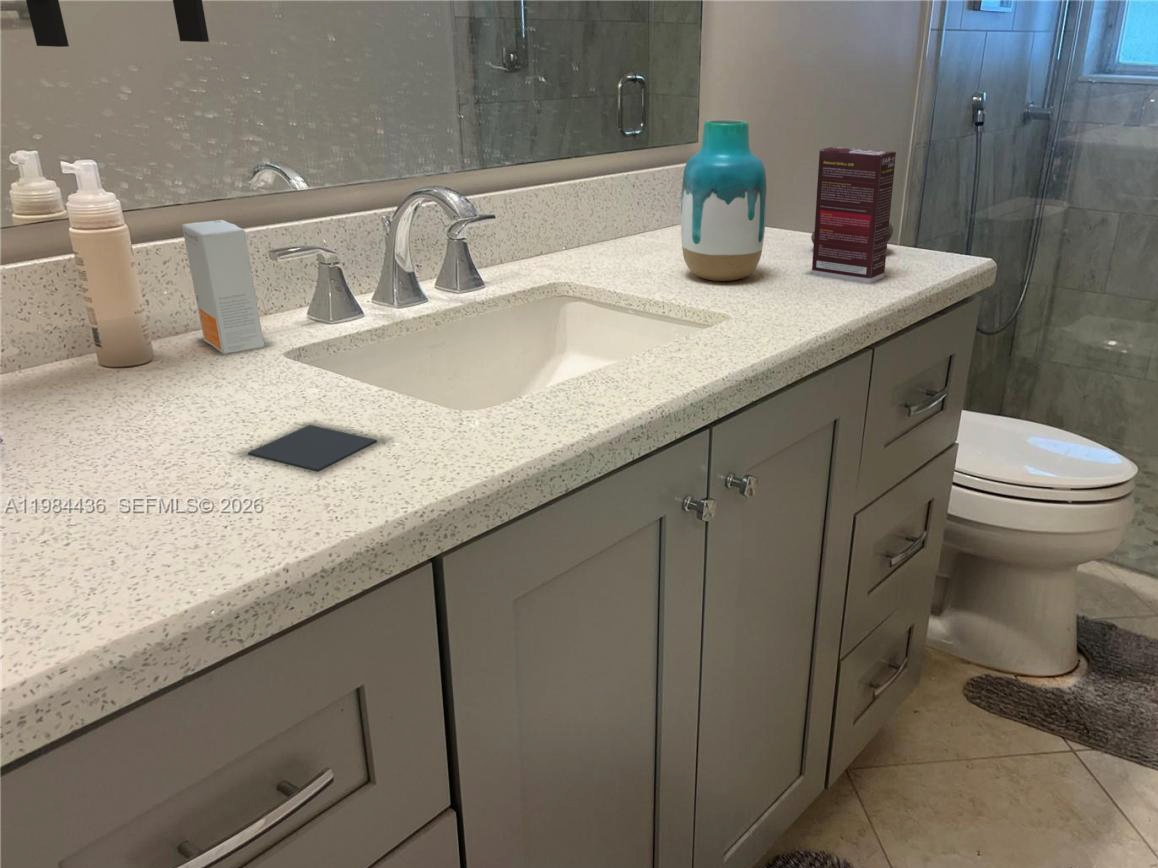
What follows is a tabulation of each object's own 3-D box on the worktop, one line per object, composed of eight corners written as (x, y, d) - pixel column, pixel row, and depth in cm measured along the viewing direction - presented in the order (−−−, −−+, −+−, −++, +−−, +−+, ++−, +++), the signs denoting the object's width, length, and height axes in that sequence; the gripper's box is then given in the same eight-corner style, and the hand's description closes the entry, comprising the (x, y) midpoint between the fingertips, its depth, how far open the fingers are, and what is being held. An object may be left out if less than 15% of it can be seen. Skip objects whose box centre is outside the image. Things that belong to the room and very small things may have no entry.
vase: (778, 283, 132) (788, 123, 123) (709, 293, 127) (714, 127, 118) (731, 266, 140) (737, 115, 131) (664, 275, 135) (665, 119, 126)
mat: (248, 458, 80) (247, 452, 79) (310, 430, 85) (309, 424, 85) (318, 475, 77) (317, 469, 77) (377, 445, 82) (377, 439, 82)
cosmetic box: (202, 343, 106) (179, 223, 101) (244, 335, 108) (224, 218, 103) (223, 357, 102) (200, 233, 96) (266, 349, 104) (246, 228, 99)
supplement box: (885, 279, 135) (898, 150, 128) (869, 286, 131) (882, 154, 124) (825, 269, 139) (835, 145, 132) (808, 276, 136) (818, 148, 129)
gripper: (-77, -319, 65) (15, 49, 75) (233, -242, 85) (274, 40, 95) (-147, -306, 68) (-51, 47, 77) (168, -235, 88) (214, 38, 98)
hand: (128, 44), depth 86 cm, fingers open, 13 cm apart
